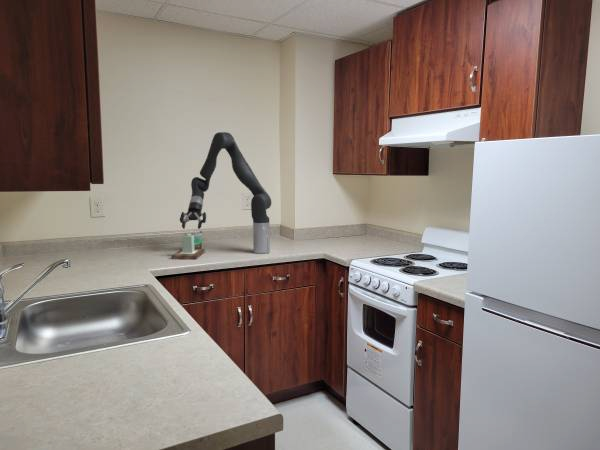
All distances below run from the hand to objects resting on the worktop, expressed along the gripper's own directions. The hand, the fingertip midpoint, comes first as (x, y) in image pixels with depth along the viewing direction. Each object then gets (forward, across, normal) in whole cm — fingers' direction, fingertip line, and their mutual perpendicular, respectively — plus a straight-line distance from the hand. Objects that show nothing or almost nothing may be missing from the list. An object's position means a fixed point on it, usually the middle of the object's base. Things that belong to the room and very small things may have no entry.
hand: (191, 227), depth 250 cm
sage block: (+13, 0, +5) cm, 14 cm away
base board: (+14, 0, +6) cm, 16 cm away
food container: (+2, -1, +19) cm, 19 cm away
